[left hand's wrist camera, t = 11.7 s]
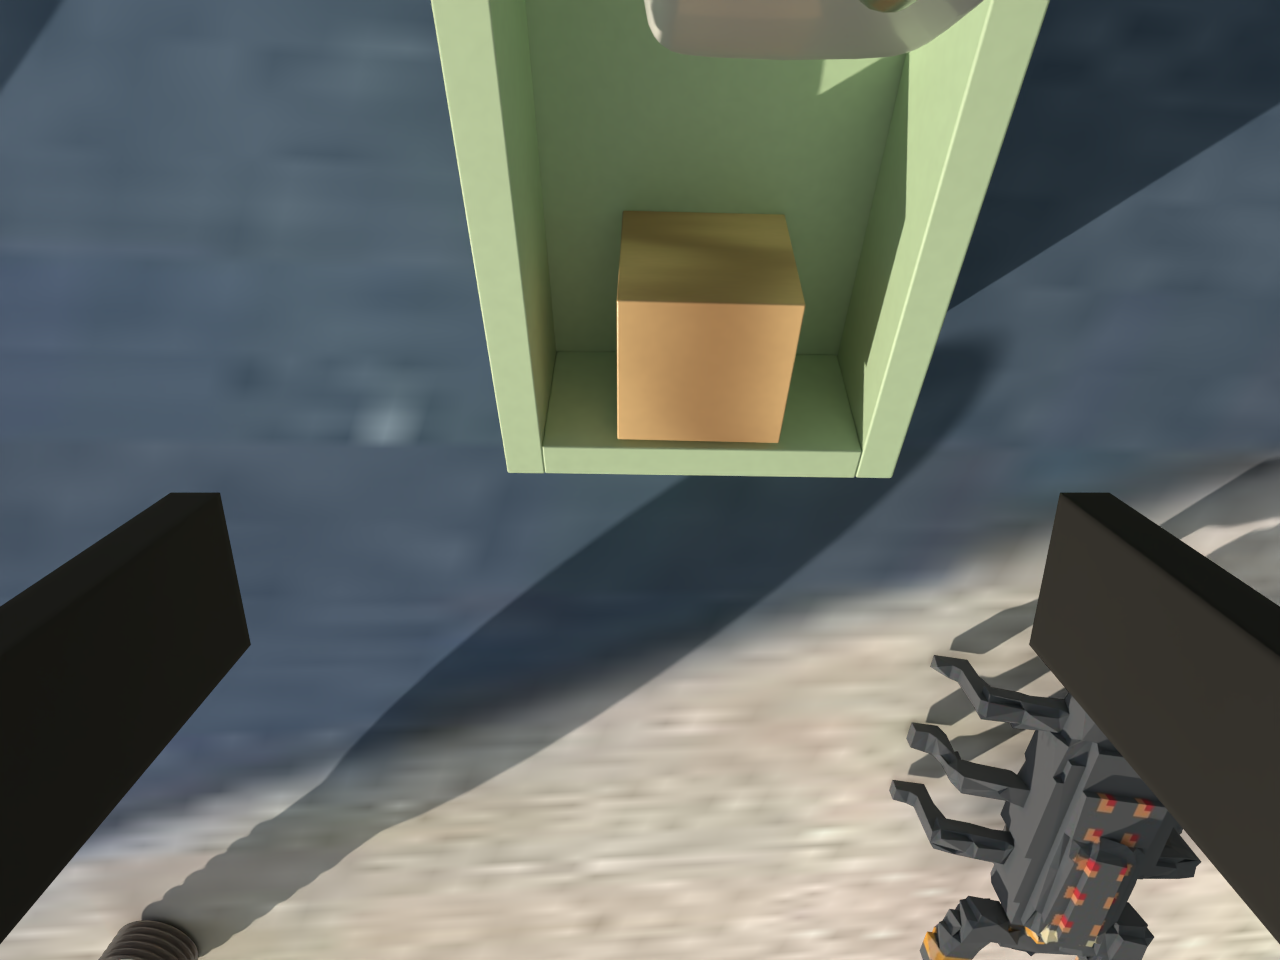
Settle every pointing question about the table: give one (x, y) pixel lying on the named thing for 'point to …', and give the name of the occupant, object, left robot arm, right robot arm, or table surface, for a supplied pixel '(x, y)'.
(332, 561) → the table surface
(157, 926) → the light bulb
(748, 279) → the block
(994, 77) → the tray
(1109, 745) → the toy
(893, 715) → the table surface
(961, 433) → the table surface
